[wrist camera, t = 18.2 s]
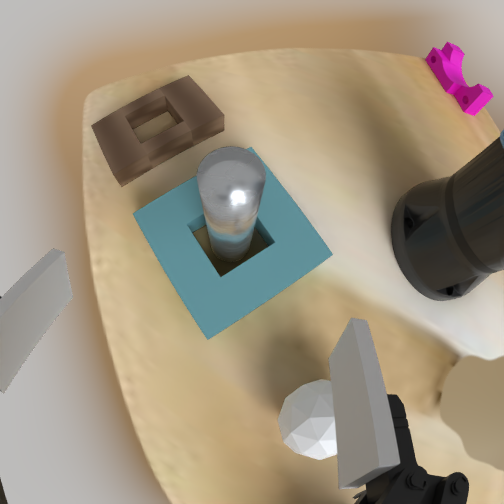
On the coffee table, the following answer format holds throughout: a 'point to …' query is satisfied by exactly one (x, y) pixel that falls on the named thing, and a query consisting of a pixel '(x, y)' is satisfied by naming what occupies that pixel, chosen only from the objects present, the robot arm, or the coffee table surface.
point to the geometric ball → (310, 420)
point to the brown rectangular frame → (166, 143)
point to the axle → (231, 199)
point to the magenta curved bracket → (457, 78)
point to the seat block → (245, 275)
